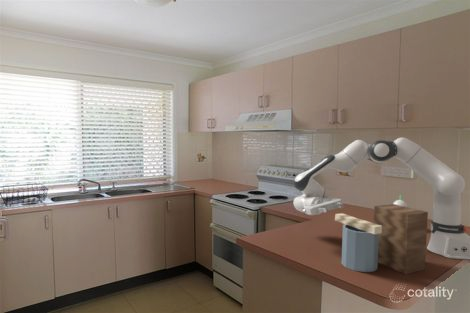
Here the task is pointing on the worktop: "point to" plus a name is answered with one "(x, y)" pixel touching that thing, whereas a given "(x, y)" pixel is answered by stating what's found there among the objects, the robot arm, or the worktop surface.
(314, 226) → the worktop surface
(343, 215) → the slat
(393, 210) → the stand
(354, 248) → the pot
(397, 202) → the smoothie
